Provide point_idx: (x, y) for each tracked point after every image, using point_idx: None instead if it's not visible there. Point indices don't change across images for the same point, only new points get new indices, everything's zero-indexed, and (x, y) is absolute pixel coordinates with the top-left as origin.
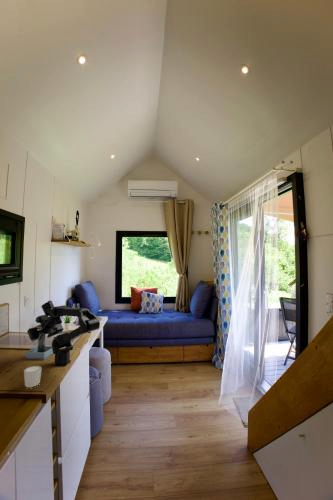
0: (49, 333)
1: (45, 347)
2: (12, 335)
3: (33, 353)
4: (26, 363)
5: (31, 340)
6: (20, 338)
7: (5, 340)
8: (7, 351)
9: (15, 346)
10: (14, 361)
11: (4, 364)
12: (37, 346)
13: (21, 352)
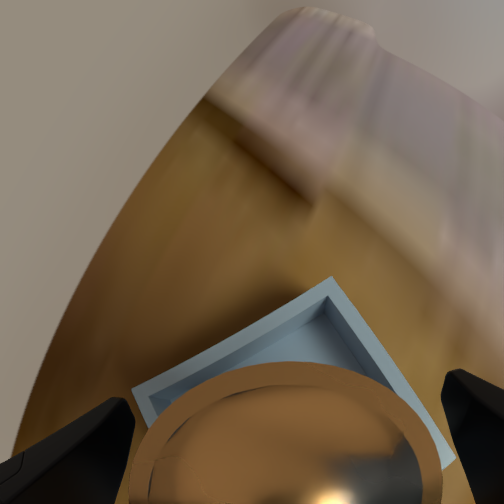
0: (501, 442)
1: (379, 374)
2: (310, 14)
3: None
4: (120, 494)
5: (107, 404)
6: (325, 39)
7: (263, 34)
8: (178, 146)
9: (255, 100)
10: (89, 373)
11: (41, 364)
12: (311, 303)
13: (219, 219)
